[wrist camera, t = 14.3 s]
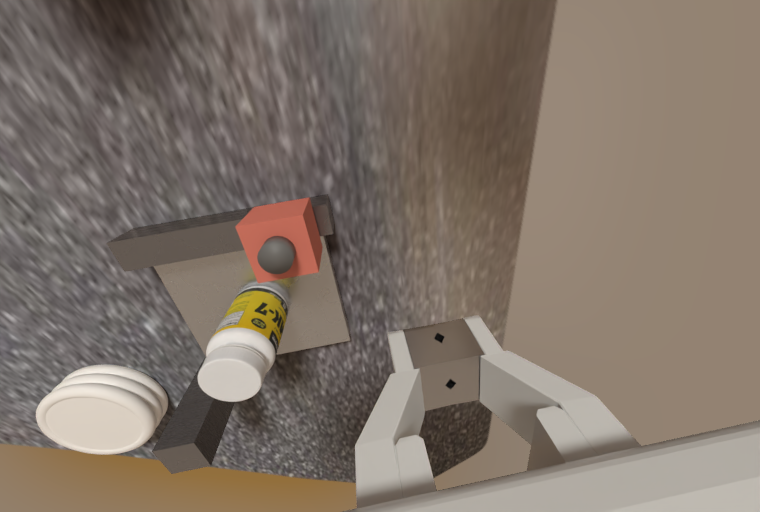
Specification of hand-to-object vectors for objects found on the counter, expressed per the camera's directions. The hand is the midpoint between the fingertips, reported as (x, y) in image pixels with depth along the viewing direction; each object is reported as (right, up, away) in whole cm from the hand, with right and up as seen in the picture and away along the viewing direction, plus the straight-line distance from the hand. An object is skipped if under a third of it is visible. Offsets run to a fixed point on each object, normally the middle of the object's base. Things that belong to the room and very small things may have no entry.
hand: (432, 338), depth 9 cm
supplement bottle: (-12, -2, +17) cm, 21 cm away
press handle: (-8, +5, +12) cm, 15 cm away
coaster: (-30, -12, +22) cm, 39 cm away
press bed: (-13, -1, +18) cm, 22 cm away
